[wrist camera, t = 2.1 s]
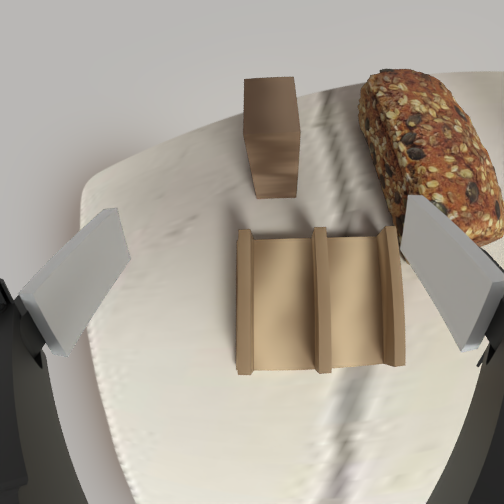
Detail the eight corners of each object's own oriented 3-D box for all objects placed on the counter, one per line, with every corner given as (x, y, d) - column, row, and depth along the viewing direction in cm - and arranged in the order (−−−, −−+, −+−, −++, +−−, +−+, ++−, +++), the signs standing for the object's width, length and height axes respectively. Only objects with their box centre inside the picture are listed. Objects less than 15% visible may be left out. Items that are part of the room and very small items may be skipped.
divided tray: (388, 239, 28) (401, 225, 24) (395, 360, 25) (411, 364, 21) (238, 243, 30) (231, 229, 26) (237, 368, 27) (230, 374, 23)
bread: (350, 120, 33) (365, 59, 23) (423, 117, 32) (450, 65, 22) (398, 272, 28) (446, 244, 18) (476, 254, 27) (530, 225, 17)
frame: (292, 148, 32) (293, 76, 21) (296, 197, 30) (300, 132, 20) (255, 150, 32) (242, 79, 22) (255, 198, 31) (241, 134, 20)
